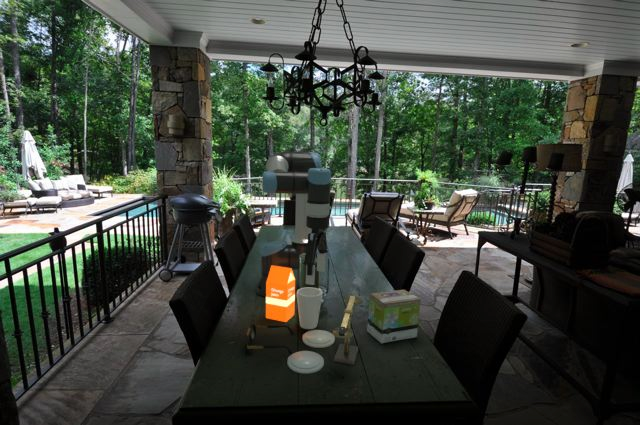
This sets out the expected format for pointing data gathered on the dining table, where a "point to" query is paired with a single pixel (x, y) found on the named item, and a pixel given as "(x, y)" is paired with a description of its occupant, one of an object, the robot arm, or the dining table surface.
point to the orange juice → (280, 293)
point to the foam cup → (309, 306)
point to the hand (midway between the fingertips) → (315, 277)
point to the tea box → (393, 315)
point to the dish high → (318, 338)
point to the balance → (346, 333)
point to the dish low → (305, 362)
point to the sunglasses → (251, 336)
